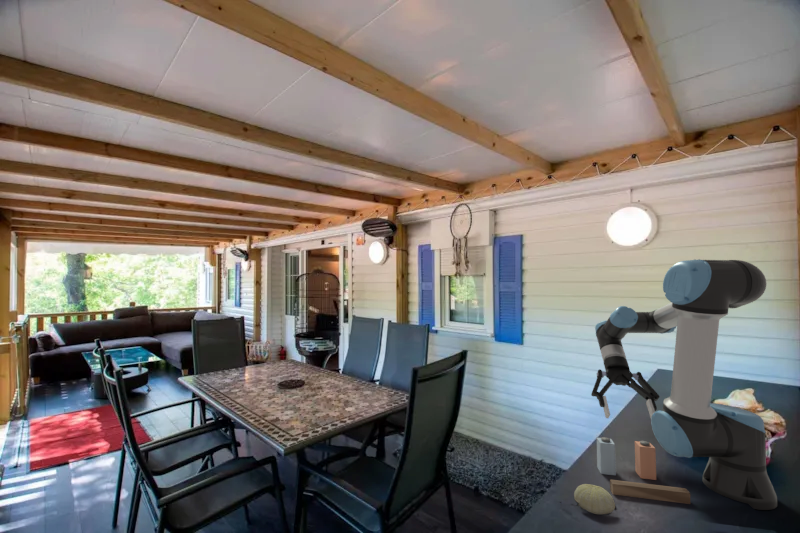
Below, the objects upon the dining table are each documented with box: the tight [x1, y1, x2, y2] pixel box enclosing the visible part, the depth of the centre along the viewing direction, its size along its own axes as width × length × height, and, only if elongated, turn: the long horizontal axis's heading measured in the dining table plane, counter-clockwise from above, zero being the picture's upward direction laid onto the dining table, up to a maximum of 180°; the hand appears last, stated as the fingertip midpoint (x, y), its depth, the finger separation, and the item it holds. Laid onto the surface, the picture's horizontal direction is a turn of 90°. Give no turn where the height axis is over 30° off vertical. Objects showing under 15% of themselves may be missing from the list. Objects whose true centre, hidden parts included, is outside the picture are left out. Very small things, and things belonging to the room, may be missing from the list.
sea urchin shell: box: [573, 483, 616, 515], centre depth 95 cm, size 9×8×8 cm
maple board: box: [609, 479, 691, 505], centre depth 104 cm, size 16×18×4 cm
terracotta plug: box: [634, 440, 657, 481], centre depth 108 cm, size 4×4×10 cm
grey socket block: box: [596, 436, 617, 476], centre depth 111 cm, size 4×4×10 cm
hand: (631, 418), depth 119 cm, fingers open, 13 cm apart
